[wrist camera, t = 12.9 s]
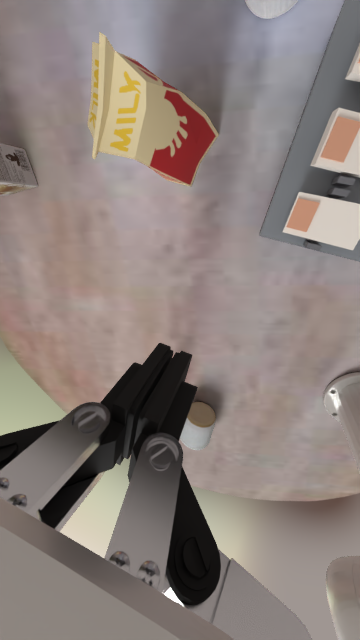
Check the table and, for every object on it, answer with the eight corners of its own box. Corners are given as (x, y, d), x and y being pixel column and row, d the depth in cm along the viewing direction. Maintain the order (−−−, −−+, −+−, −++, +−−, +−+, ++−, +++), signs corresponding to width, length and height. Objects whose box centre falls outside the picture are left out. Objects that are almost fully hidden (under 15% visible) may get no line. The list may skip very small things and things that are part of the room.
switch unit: (473, 46, 22) (554, -16, 16) (351, 256, 32) (372, 267, 26) (331, 33, 25) (355, -26, 18) (259, 232, 35) (259, 237, 29)
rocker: (374, 208, 24) (378, 207, 23) (351, 249, 27) (353, 250, 26) (299, 192, 27) (298, 191, 26) (283, 231, 29) (282, 232, 28)
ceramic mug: (219, 405, 53) (213, 433, 46) (212, 428, 57) (205, 456, 50) (177, 390, 55) (165, 414, 49) (173, 412, 59) (161, 437, 52)
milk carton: (167, 91, 31) (54, -52, 14) (221, 131, 31) (172, 36, 14) (140, 161, 36) (30, 117, 19) (186, 195, 36) (119, 182, 19)
